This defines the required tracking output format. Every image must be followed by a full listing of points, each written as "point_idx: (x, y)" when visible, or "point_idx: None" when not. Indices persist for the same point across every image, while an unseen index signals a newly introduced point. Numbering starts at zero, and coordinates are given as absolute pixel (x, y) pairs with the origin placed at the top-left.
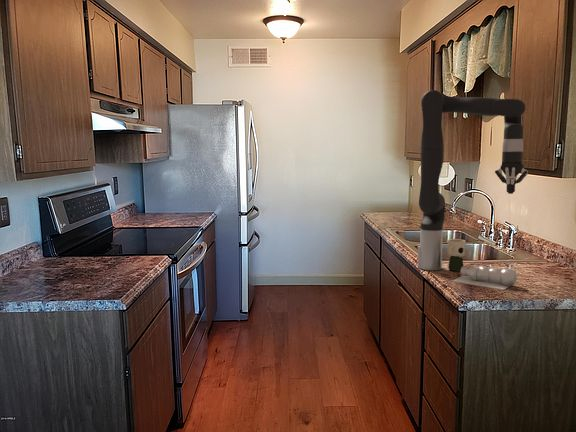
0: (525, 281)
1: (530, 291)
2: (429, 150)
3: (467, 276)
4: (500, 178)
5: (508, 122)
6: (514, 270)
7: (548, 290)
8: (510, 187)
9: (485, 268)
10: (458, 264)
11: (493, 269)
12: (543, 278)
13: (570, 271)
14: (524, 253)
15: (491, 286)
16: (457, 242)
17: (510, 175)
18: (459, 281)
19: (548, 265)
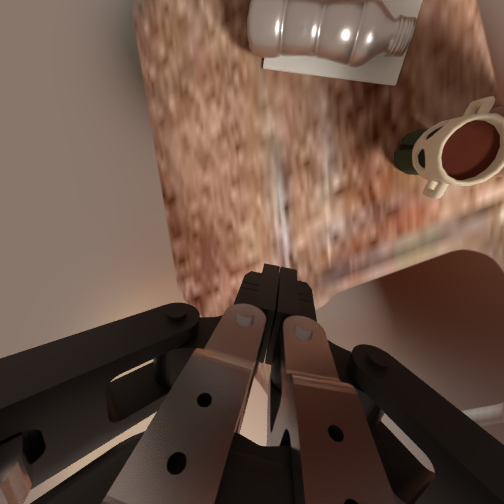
0: (239, 122)
1: (215, 14)
2: None
3: (381, 79)
4: (454, 417)
5: None
6: (250, 18)
7: (183, 55)
8: (272, 290)
9: (337, 6)
10: (418, 134)
11: (311, 8)
12: (209, 175)
13: (175, 263)
14: None
15: None
16: (472, 115)
17: (267, 455)
18: None
19: (217, 297)
